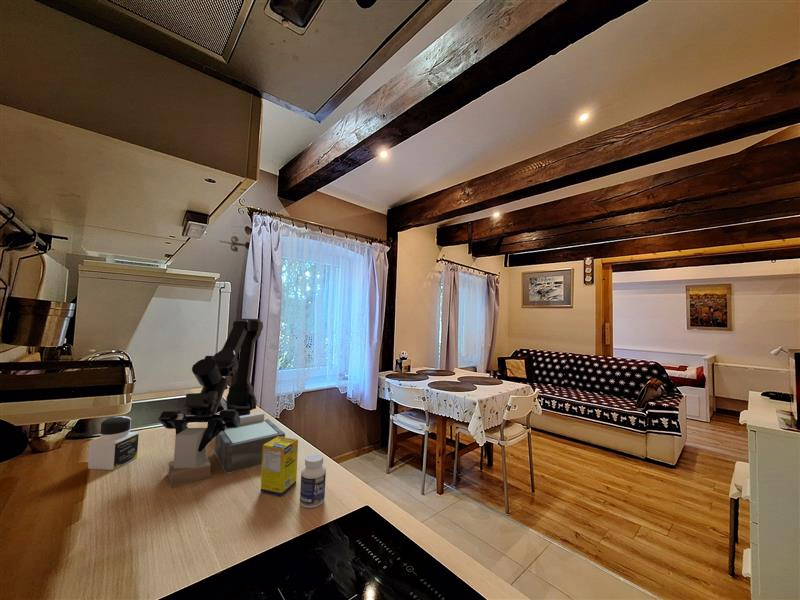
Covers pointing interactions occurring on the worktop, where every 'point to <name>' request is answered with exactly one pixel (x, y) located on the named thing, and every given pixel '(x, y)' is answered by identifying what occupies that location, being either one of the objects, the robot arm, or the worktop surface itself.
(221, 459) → the frame
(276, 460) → the supplement box
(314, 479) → the pill bottle
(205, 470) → the walnut plinth
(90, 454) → the medicine bottle
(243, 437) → the trapdoor
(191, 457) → the light grey block
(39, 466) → the worktop surface
